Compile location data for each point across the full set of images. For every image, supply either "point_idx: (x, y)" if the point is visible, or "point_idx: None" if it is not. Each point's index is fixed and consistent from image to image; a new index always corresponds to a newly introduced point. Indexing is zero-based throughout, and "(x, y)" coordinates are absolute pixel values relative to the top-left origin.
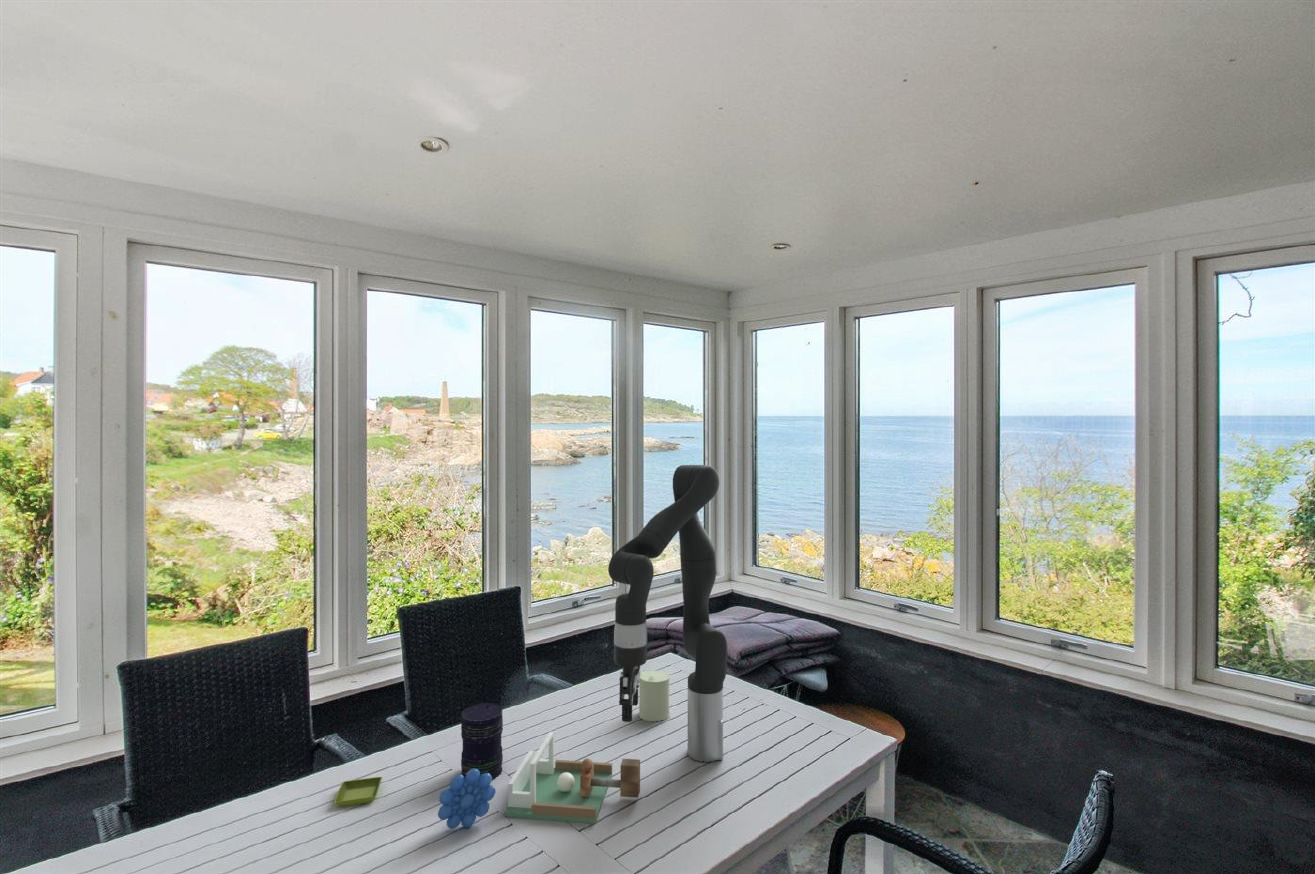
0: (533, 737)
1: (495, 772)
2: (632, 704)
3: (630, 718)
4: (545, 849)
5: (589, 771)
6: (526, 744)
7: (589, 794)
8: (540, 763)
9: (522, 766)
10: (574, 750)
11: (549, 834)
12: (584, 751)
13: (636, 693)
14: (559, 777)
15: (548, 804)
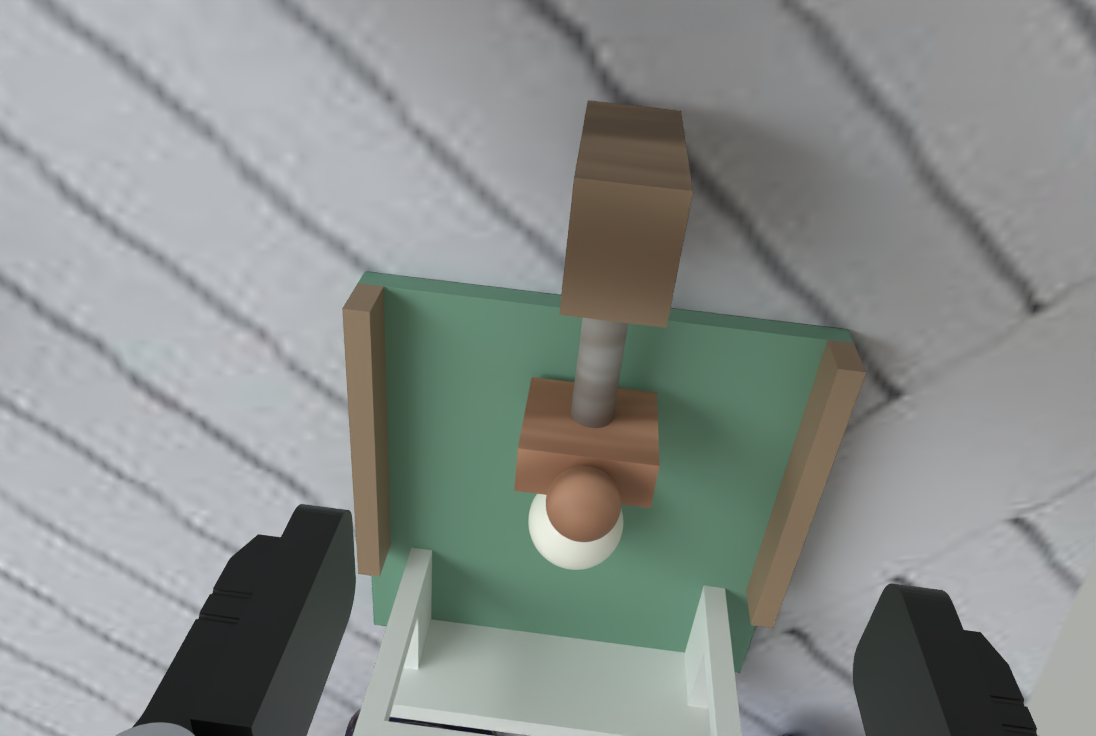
0: (97, 631)
1: (454, 728)
2: (350, 563)
3: (951, 629)
4: (1008, 510)
5: (595, 466)
6: (168, 647)
7: (643, 393)
8: (420, 632)
9: (550, 728)
10: (152, 471)
11: (897, 507)
12: (145, 426)
13: (283, 672)
14: (585, 568)
15: (778, 570)
